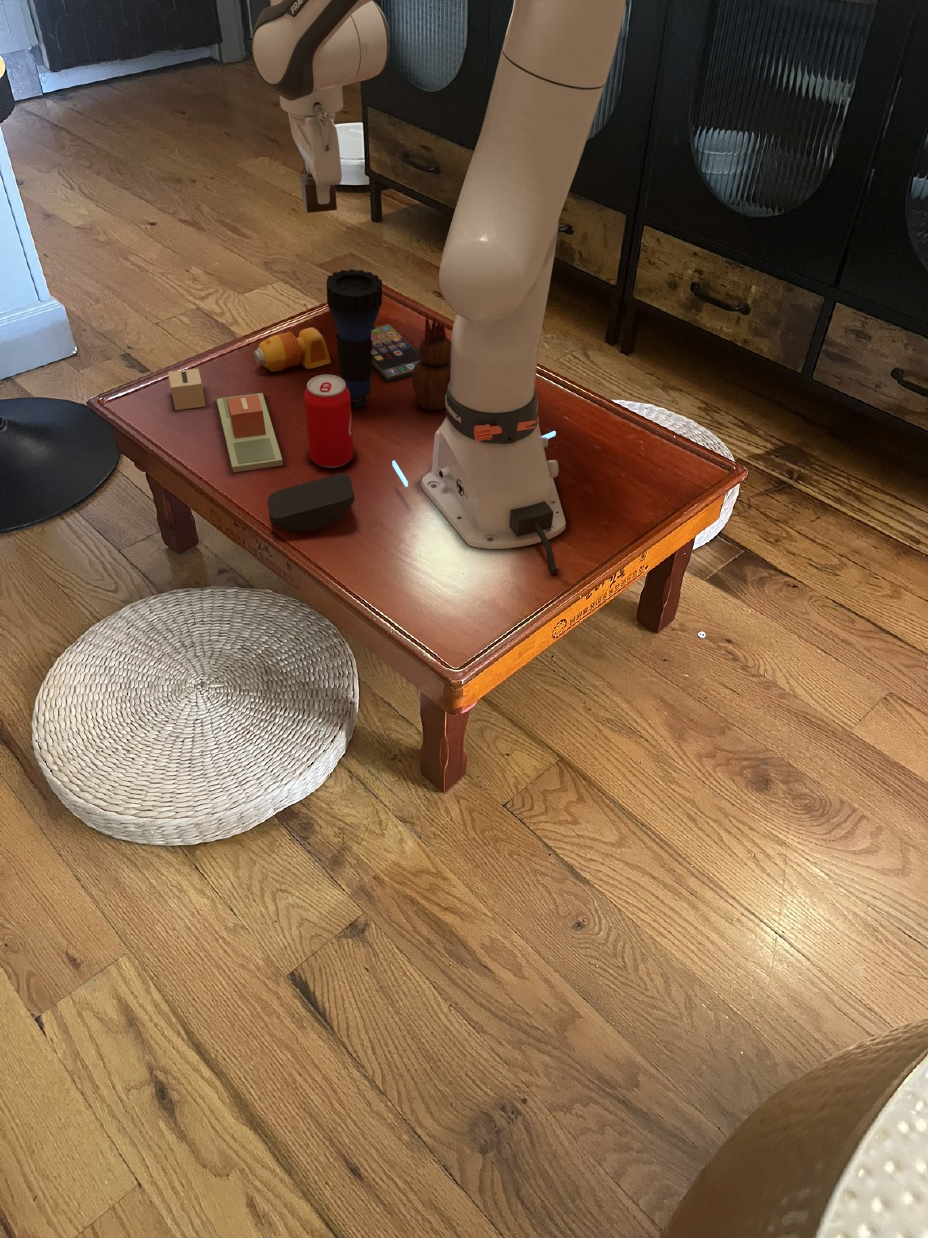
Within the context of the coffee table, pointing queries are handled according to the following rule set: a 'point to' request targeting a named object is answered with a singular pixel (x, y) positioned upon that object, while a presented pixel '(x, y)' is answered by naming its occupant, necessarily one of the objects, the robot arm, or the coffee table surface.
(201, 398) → the letter i block
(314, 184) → the brown box with stripe
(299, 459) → the coffee table surface
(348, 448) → the beverage can
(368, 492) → the coffee table surface
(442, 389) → the wooden figurine
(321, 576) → the coffee table surface
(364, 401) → the flashlight
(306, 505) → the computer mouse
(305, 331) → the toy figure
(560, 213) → the robot arm
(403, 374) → the smartphone
